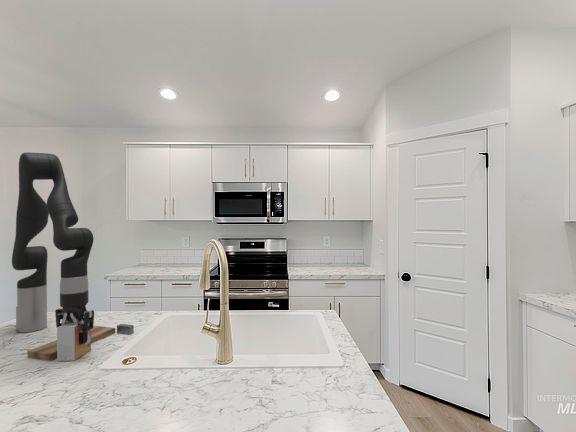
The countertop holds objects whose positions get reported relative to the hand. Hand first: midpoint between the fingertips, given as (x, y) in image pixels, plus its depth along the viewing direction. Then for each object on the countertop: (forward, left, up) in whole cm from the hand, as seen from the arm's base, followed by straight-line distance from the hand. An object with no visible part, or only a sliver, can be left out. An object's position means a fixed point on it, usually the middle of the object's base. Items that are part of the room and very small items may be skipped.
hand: (74, 342), depth 98 cm
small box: (0, 0, -4) cm, 4 cm away
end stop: (0, +20, -4) cm, 21 cm away
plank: (-9, +7, -4) cm, 12 cm away
